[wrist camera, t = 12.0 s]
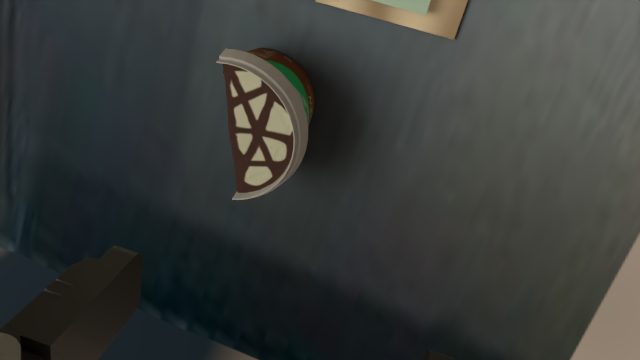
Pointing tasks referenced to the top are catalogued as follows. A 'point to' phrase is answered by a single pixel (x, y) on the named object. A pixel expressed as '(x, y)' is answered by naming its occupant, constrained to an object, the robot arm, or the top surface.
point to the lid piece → (408, 5)
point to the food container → (266, 117)
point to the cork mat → (411, 14)
